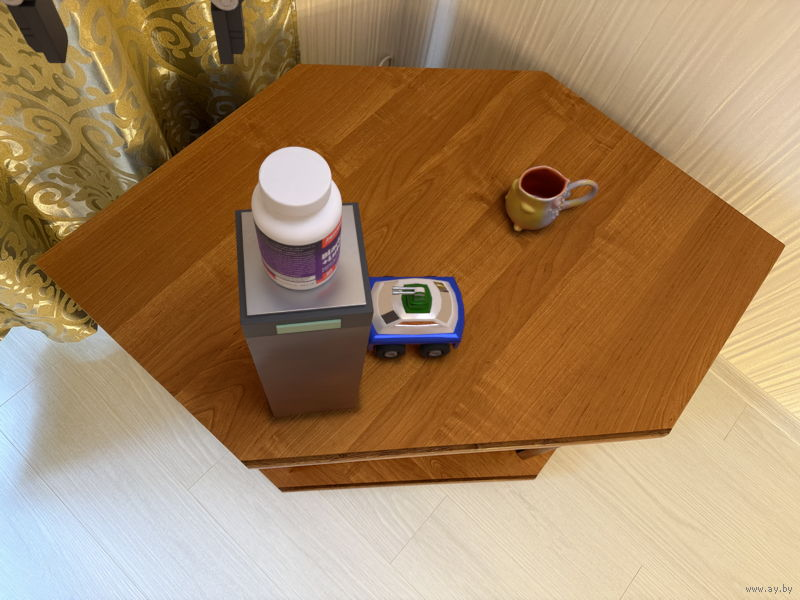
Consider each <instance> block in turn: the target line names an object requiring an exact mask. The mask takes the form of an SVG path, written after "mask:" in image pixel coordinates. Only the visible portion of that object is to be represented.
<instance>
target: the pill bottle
mask: <svg viewBox="0 0 800 600" xmlns="http://www.w3.org/2000/svg"><path fill="white" fill-rule="evenodd" d="M342 203H343V199H342V194H341V192H340V189H339V188H338V186H337V184H336V183H335V182H334V180H333V179H332V171H331V167H330V166H329V164H328V162H327V161H326V160H325V158H324V157H323V156H322V155H320V154H319V153H318V152H316V151H314V150H312V149H310V148H306V147H302V146H285V147H282V148H279V149H277V150H275V151H273V152H271V153H270V154H269V155H268V156H267V157H266V158H265V159H264V160H263V161H262V163H261V165H260V168H259V169H258V181H257V184H256V185H255V187H254V189H253V192H252V195H251V204H250V205H251V209H252V215H253V220H254V224H255V229H256V234H257V239H258V244H259V249H260V254H261V259H262V262H263V265H264V268H265V270H266V272H267V273H268V275H269V276H270V277H271V278H272V279H273V280H274V281H275V282H276V283H278V284H280V285H281V286H284V287H286V288H290V289H295V290H306V289H311V288H315V287H317V286H319V285H321V284H323V283H324V282H326V281H327V280H328V279H329V278H330V277H331V276H332V275H333V274H334V272H335V271H336V268H337V266H338V263H339V257H340V244H341V225H342Z"/></svg>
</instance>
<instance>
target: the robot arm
mask: <svg viewBox="0 0 800 600" xmlns="http://www.w3.org/2000/svg"><path fill="white" fill-rule="evenodd" d="M209 1H210V15H211V20H212V25H213V30H214V36H215V41H216V48H217V54H218V59H219V63H220V65H235V55H243V54H244V51H245V49H246V32H245V31H246V30H245V29H246V27H245V20H244V14H243V12H244V11H243V5H242V4H243V2H245V0H209ZM0 2H1V3H3V4H5V6H6V7H7V10H8V11H9V13H10V15H11V17H12V19H13V21H14V22H15V24H16V26H17V28H18V29H19V31H20V33H21V35H22V37H23V39H24V41H25V42H26V44H27V46H29V47H30V49H32V50H33V51H34V52H35V53H36V54H37V53H38V54H39V53H41V54H43V56H44V57H45V60H46V62H47V63H48V64H66V63H67V55H68V47H69V36H68V32H67V31H68V30H67V29H66V27H65V25H64V22H63V20H62V18H61V15H60V13H59V11H58V9H57V7H56V4H55V2H54V0H0Z"/></svg>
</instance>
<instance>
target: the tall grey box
mask: <svg viewBox="0 0 800 600" xmlns="http://www.w3.org/2000/svg"><path fill="white" fill-rule="evenodd" d="M234 223H235V242H236V244H235V245H236V261H237V263H236V264H237V282H238V283H237V284H238V285H237V286H238V303H239V305H238V306H239V324H240V327H241V331H242V333H243V335H244V339H245V341H246V344H247V347H248V349H249V350H248V351H249V352H250V355H251V357H252V360H253V363H254V366H255V369H256V371H257V374H258V377H259V379H260V380H259V381H260V382H261V385H262V387H263V391H264V393H265V396H266V398H267V402H268V404H269V407H270V410H271V413H272V415H273V417H274V418H278V417H279V418H281V417H289V416H296V415H304V414H312V413H313V414H314V413H322V412H329V411H338V410H345V409H346V410H347V409H354V408H357V403H358V399H359V392H360V388H361V387H360V386H361V382H362V377H363V372H364V366H365V362H366V356H367V351H368V349H367V346H368V340H369V335H370V330H371V324H372V319H373V314H374V309H373V302H372V295H371V288H370V281H369V277H370V275H369V268H368V261H367V253H366V247H365V241H364V239H365V238H364V233H363V227H362V219H361V212H360V206H359V202H358V201H355V202H353V201H351V202H342V225H341V244H340V257H339V263H338V266H337V268H336V271H335V272H334V274H333V275H332V276H331V277H330V278H329V279H328V280H327V281H326V282H324V283H323V284H321V285H319V286H317V287H315V288H311V289H306V290H295V289H290V288H286V287H284V286H281V285H280V284H278V283H276V282H275V281H274V280H273V279H272V278H271V277H270V276H269V275H268V273H267V272H266V270H265V268H264V265H263V262H262V259H261V254H260V249H259V244H258V239H257V234H256V229H255V224H254V220H253V215H252V208H247V209H245V208H244V209H235V210H234Z"/></svg>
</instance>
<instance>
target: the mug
mask: <svg viewBox="0 0 800 600" xmlns="http://www.w3.org/2000/svg"><path fill="white" fill-rule="evenodd" d="M584 186H589V187H591V189H590V190H589V192H587V193H586V194H584V195H582V196H580V197H577V198H574V199H569V198H570V197H571V195H572V193H571V191H572V190H575V189H576V188H579V187H584ZM599 189H600V188H599V185H598V183H597V182H596V181H594V180H592V179H589V178H583V179H578V180H576V181H573V182H571V180H570V178H567V177H565V175H563V174H562V173H560V171H558V170H557V169H555V168H554V167H551V166H548V165H537V166H533V167H530V168H528V169H526V170H525V171H523V172H522V173H521V175H520V177H517V178H515V179H514V180H513V181H512V182H511V185H510V188H509V190H508V192H507V194H506V195H505V196H504V199H505V210H506V213H507V215H508V217H509V219H510V220H511V222H512V223H513V230H514V231H515V232H521V231H522V230H527V231H528V230H529V231H534V230H535V231H536V230H541V229H543V228H546V227H547V226H549V225H551V224H552V223H553V222H554V221H555V220H556V219H557V218H558V216H560V214H561V211H564V210H567V209H571V208H574V207H575V208H576V207H577V206H580V205H583V204H585V203H587V202H589V201H591V200H593V199H595V197H596V196H597V195H598V193H599ZM567 199H568V200H567Z"/></svg>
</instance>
